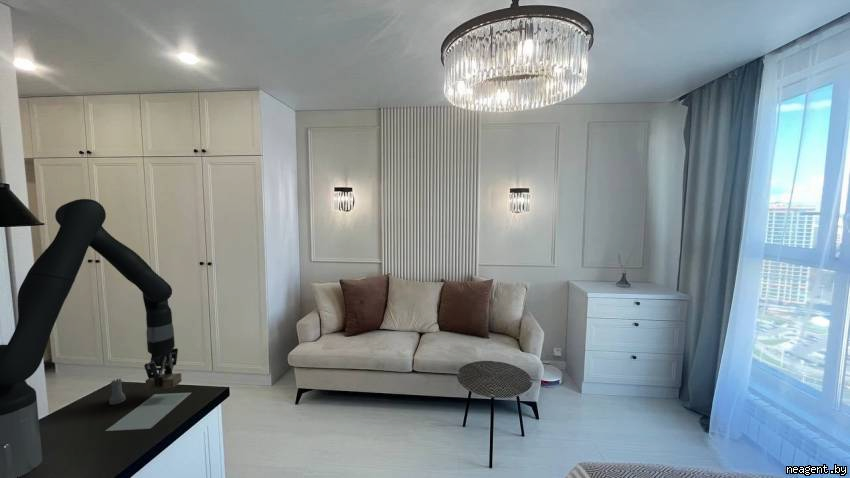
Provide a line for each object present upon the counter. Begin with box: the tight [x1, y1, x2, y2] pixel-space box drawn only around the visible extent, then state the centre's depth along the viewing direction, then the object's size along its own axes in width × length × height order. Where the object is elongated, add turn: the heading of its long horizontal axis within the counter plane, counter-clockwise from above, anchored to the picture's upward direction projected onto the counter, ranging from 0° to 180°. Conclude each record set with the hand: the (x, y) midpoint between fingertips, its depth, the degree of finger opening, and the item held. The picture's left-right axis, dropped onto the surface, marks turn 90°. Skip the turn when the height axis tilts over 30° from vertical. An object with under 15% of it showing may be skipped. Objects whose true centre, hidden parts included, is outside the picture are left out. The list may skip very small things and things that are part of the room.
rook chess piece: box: [108, 378, 127, 405], centre depth 118 cm, size 4×4×8 cm
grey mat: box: [105, 392, 192, 432], centre depth 113 cm, size 21×13×1 cm, turn 5°
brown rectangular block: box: [145, 372, 182, 390], centre depth 119 cm, size 9×4×3 cm, turn 95°
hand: (163, 383), depth 119 cm, fingers closed on brown rectangular block, 4 cm apart
